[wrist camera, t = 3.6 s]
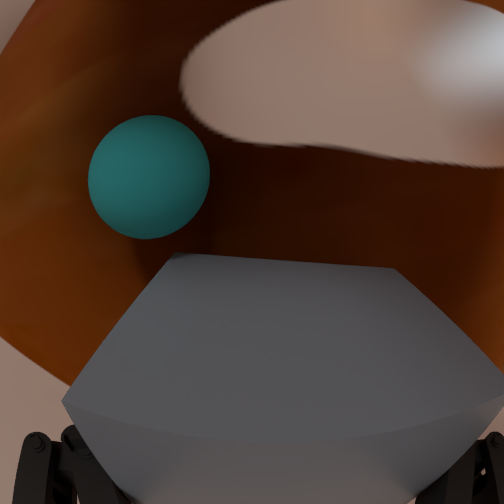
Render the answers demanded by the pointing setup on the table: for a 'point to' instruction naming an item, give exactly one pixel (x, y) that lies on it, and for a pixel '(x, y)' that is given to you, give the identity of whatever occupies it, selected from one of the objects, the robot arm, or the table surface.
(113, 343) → the dark grey block
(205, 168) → the ball
